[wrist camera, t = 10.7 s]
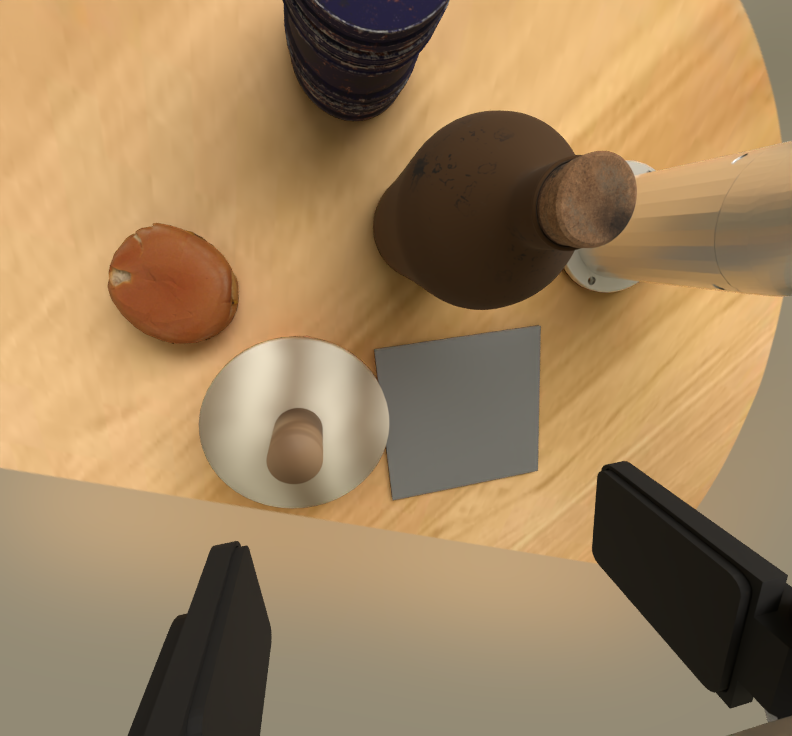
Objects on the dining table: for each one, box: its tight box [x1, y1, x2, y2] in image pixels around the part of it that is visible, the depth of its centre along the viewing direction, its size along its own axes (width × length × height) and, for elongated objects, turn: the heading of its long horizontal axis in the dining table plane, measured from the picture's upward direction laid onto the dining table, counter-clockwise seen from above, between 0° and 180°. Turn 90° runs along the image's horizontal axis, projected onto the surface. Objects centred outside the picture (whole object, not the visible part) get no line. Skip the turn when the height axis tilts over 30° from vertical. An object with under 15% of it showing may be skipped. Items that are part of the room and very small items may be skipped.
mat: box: [374, 325, 541, 500], centre depth 44 cm, size 18×18×1 cm
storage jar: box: [283, 0, 449, 121], centre depth 25 cm, size 10×10×15 cm
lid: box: [199, 336, 389, 508], centre depth 31 cm, size 16×16×6 cm
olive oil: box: [373, 111, 637, 310], centre depth 25 cm, size 11×11×25 cm
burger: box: [108, 223, 238, 344], centre depth 33 cm, size 10×9×5 cm
